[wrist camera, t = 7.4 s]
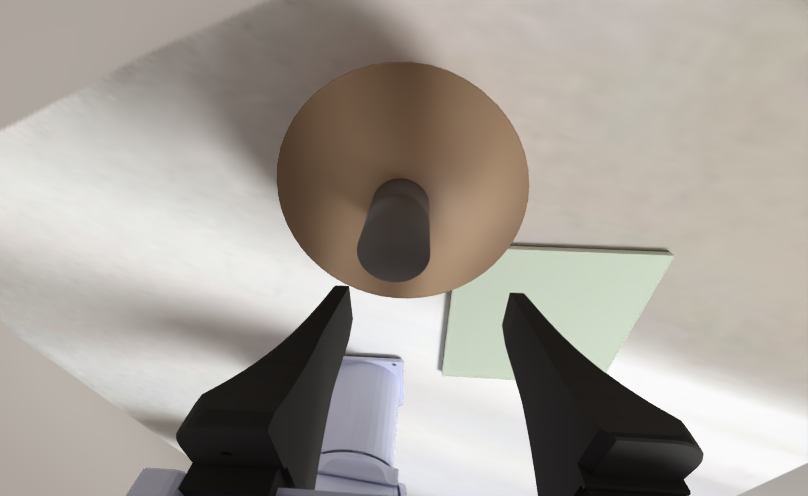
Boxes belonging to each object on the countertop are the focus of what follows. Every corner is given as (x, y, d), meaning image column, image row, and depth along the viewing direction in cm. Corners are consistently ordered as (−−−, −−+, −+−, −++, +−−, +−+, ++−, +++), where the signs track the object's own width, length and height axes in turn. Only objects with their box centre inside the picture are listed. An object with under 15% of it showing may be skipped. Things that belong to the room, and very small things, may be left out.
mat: (441, 371, 33) (441, 375, 33) (457, 243, 24) (457, 247, 24) (596, 380, 33) (599, 384, 32) (670, 251, 24) (674, 255, 23)
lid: (312, 291, 21) (283, 356, 17) (248, 72, 14) (168, 86, 10) (509, 288, 20) (532, 357, 16) (545, 50, 13) (606, 54, 9)
